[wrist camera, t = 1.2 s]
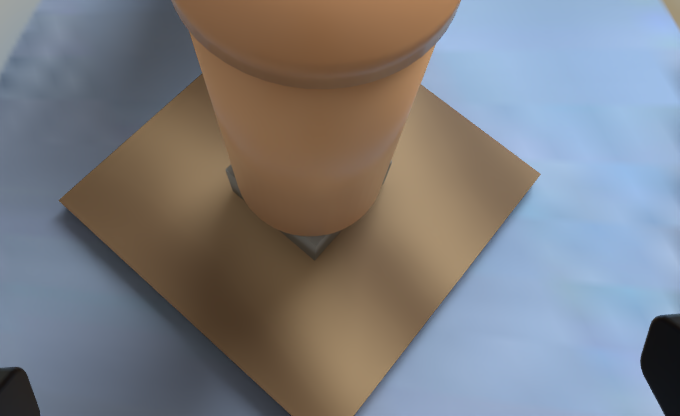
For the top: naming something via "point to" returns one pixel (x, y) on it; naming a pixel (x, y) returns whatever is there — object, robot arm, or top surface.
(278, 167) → the container with domed lid
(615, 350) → the top surface
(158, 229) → the thin square board
